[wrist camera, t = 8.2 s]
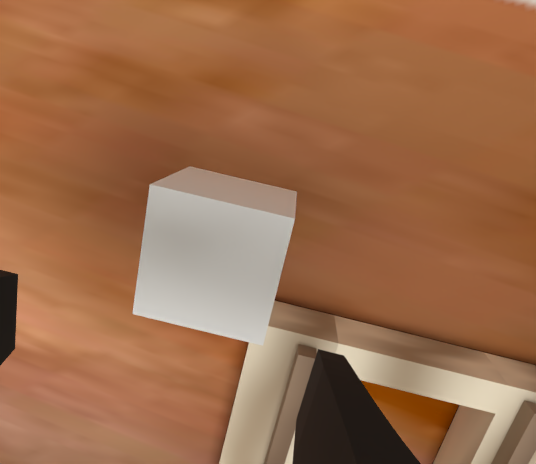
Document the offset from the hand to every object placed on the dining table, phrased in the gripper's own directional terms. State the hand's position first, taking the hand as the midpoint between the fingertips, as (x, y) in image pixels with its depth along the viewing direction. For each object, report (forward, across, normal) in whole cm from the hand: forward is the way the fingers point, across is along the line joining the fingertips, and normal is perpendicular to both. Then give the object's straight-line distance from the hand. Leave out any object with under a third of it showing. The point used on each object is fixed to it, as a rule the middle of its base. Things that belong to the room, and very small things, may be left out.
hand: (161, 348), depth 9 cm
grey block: (+10, 0, 0) cm, 10 cm away
